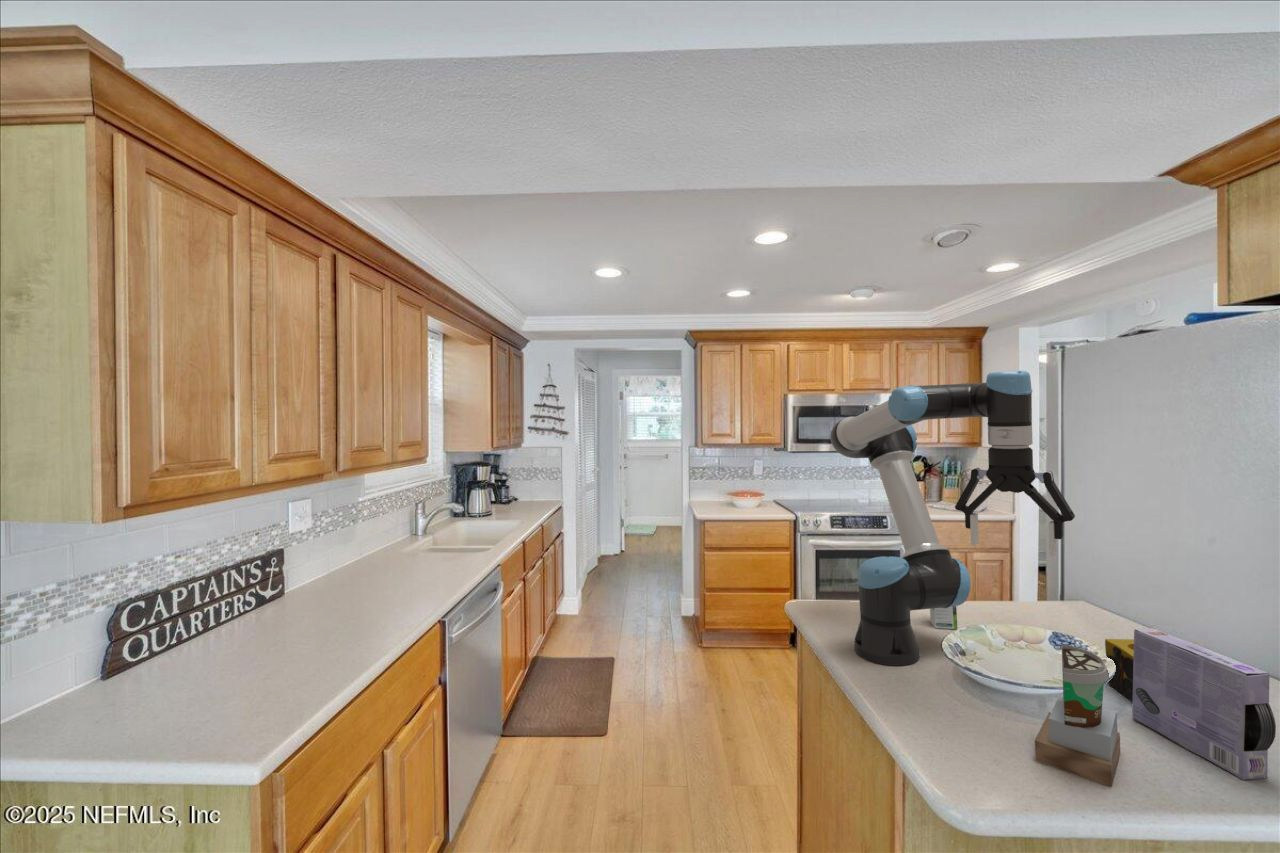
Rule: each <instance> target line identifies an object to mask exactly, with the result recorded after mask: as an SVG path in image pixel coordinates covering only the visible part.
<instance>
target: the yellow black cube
mask: <svg viewBox="0 0 1280 853" xmlns="http://www.w3.org/2000/svg"><path fill="white" fill-rule="evenodd" d="M1104 646H1105V649H1104V650H1105V655H1106V656H1107V657H1108V658H1110V659H1112V660H1113V661H1114V663H1115V665H1116V672H1115V675H1114V676H1113V678H1112V679H1111V680H1110V681H1109V682H1107V684H1108V685H1109V686H1110V687H1111V688H1113V689H1114V690H1116V691H1117V693H1119V694H1121V695H1122V696H1124V698H1126V699H1128V700H1129V701H1130V702H1132V703H1133V659H1134V638H1133V639H1128V638H1127V639H1126V638H1118V639H1117V638H1105V640H1104ZM1106 656H1105V657H1106ZM1107 657H1106V658H1107Z"/></svg>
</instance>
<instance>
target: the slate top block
mask: <svg viewBox="0 0 1280 853" xmlns="http://www.w3.org/2000/svg"><path fill="white" fill-rule="evenodd" d="M1117 711H1118V710H1113V709H1110V708H1105V707H1103V706H1102V716H1101V723H1100V725H1098V726H1095V727H1088V728H1082V727H1073V726H1068V725H1065V723H1064V703H1063V695H1058V697H1057V700H1056V701H1055V704H1054V706H1053V708H1052V711H1051V712H1050V713H1051V714H1050V717H1049V742H1053V743H1056V744H1059V745H1062V746H1065V747H1068V748H1071V749H1074V750H1078V751H1081V752H1084V753H1087V754H1090V755H1093V756H1096V757H1099V758H1102V759H1106V760H1109V761H1111V759H1112V755H1113V751H1114V747H1115V742H1116V738H1117V732H1118V712H1117Z"/></svg>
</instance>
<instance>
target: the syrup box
mask: <svg viewBox="0 0 1280 853" xmlns="http://www.w3.org/2000/svg"><path fill="white" fill-rule="evenodd" d="M957 613H958V612H957V606H952V607H948V608H932V609H929V616H930V617H929V619H930V622H931V624H932V626H933V627H934V629H943V630H944V629H947V630H956V629H957V630H958V614H957Z"/></svg>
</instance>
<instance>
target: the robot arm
mask: <svg viewBox="0 0 1280 853" xmlns="http://www.w3.org/2000/svg"><path fill="white" fill-rule="evenodd" d="M985 380H986V381H985V382H971V383H970V382H967V383H966V382H965V383H954V384H930V385H926V384H925V385H907V386H899V387H896V388H894V389H892V391H891V394H890V395H889V397H888V400H885V401H884V402H882V403H881V404H878V405H876V406H874V407H872V408H870V409H869V410H866V411H865V412H864V411H863V413H861V414H860V413H859V415H856V416H848V417H845V418H843V419H841V420H839V421H837V422H836V423H835V425H834V426H833V427H832V429H831V430H830V442H831V445H832V447H833V449H834V450H835V451H836V452H838V453H839V454H840V455H842V456H844V457H847V458H850V459H868V461H869V463H870V466H871V467H872V468H873V469H875V470H877V471H878V474H879V476H880V479H881V482H882V485H883V490H884V492H885V494H886V497H887V500H888V503H889V506H890V510H891V512H892V515H893V518H894V522H895V525H896V528H897V531H898V534H899V537H900V539H901V540H900V541H901V543H902V545H903V548H904V553H903V555H902V556H901V557H899V556H886V555H885V556H876V557H872V558H869V559H866V560H864V561H863V562H861V563H860V565H859V567H858V576H857V584H858V595H859V596H858V597H859V614H860V615H859V619H860V621H859V623H858V626H857V630H856V633H855V635H854V640H853V642H854V643H853V644H854V645H853V646H854V648H853V649H854V651H855V653H856V654H857V655H858V656H859V657H861V658H862V659H864V660H867V661H869V662H873V663H875V662H876V664H879V663H880V665H884V666H885V665H886V666H887V665H888V666H907V665H908V666H909V665H912V664H915V663H916V662H918V661H919V660H920V658H921V650H920V646H919V645H920V644H919V643H918V641H917V640H918V639H917V637H916V635H915V632H914V629H913V627H912V624H911V611H920V610H921V611H922V610H930V609H932V608H948V607H952V606H956V607H958V606H961V605H962V604H964V603H965V602H966V601H967V600H968V597H969V595H970V592H971V587H972V586H971V584H972V583H971V577H970V573H969V570H968V567H967V566H966V564H964V563H963V562H962V561H961V560H960V559H959V558H955V557H952V555H951V552H950V550H949V548H947V547H945V546H943V545H941V543H940V540H939V539H938V535H937V533H936V528H934V527H935V526H934V524H933V521H932V519H931V515H930V513H929V511H928V508H927V505H926V502H925V499H924V497H923V494H922V492H921V489H920V486H919V483H918V481H917V477H916V475H915V471H914V469H913V467H912V464H911V462H912V460H913V458H914V453H915V451H916V450H917V446H918V442H917V438H918V437H917V433H916V430H915V428H914V427H913V425H915V424H917V423H920V422H922V421H927V420H937V419H938V420H942V419H957V418H958V419H959V418H960V419H962V418H987V443H988V445H989V446H990V447H989V448H988V449H987V451H988V452H987V455H988V456H987V457H988V458H987V459H988V460H987V461H988V468H987V469H982V468H980V467H976V468H973V469H971V471H970V478H969V481H968V482H967V484H966V486H965V488H964V489H963V491H962V493H961V494H960V497H959V498H958V500H957V502H956V504H955V506H954V508H955V510H956V511H959V512H960V511H961V512H962V513H964V521H965V522H964V523H965V524H964V525H965V528H966V529H970V545H971V546H974V547H975V546H976V545H978V544H979V543H980V542H979V538H980V537H979V513H978V512H975V510H976V509H978V508H979V507H980V506H981V505H982V504H983V503H984V502H985V501H986V500H987V499H988V498H989V497H990V496H991V495H992V494H993V493H994V492H996V491H997V490H998V491H999V492H1002V493H1007V492H1011V493H1016V494H1018V493H1022V492H1023V493H1024V494H1025V495H1026V496H1028V497H1030V499H1031V500H1033V502H1034V503H1035V505H1037V506H1038V507H1039V508H1040V509H1041V510H1042V511H1043V512H1044V513H1045V515H1046V516H1048V517H1049V518H1050V519H1051V521H1049V522H1048V549H1049V550H1048V555H1049V557H1055V556H1056V555H1057V554H1058V540H1062V538H1063V537H1064V522H1072V521H1073V520H1074V519H1075V517H1076V515H1075V513H1074V512H1073V510H1072V508H1071V506H1070V505H1069V502H1067V500H1066V499H1065V497H1064V496H1063V494H1062V492H1061V490H1060V489H1059V487H1058V485H1057V484H1056V482H1055V479H1054V478H1055V477H1054V474H1053V472H1052V470H1046V471H1043V472H1040V471H1039V472H1035V470H1034V458H1033V457H1034V456H1033V455H1034V454H1033V448H1032V447H1030V446H1032V445H1033V444H1034V443H1033V422H1032V421H1033V416H1032V415H1033V413H1032V412H1033V409H1032V408H1033V406H1032V404H1033V403H1032V397H1033V396H1032V393H1033V388H1032V382H1031V381H1032V380H1031V375H1030V373H1029V372H1028V371H1027V370H1006V371H995V372H989V373H988V374H987V375H986V379H985ZM985 476H986V477H987V479H988V480H989V482H991V483H990V484H989V485H988V486H987V487H986V488H985V489H984V490H983V491H982V492H981V493H980V494H979V495H978V496H977V497H976V498H975V499H974V500H973V501H971V503H970V504H969V505H967V503H968V501H969V499H970V498H971V497H972V495H973V492H974V491H975V489H976V487H977V485H978V484H979V483H980V480H982V479H983V478H985ZM1036 479H1037V480H1038V481H1039V482H1040V483H1042V484H1044V486H1045V488H1046V490H1047V492H1048V493H1049V495H1050V497H1051V499H1052V500H1053V502H1054V503H1055V505H1056V506H1057V508H1058V509H1059V511H1060V512H1059V511H1058V510H1057V509H1056V508H1055V507H1054V506H1053V505H1052V504H1051V503H1050V502H1049V501H1048V500H1046V498H1045V496H1043V495H1042V494H1041V493H1040V492H1039V491H1038V489H1037V488H1036V487H1035V486H1034V485H1033V482H1034V481H1035V480H1036Z"/></svg>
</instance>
